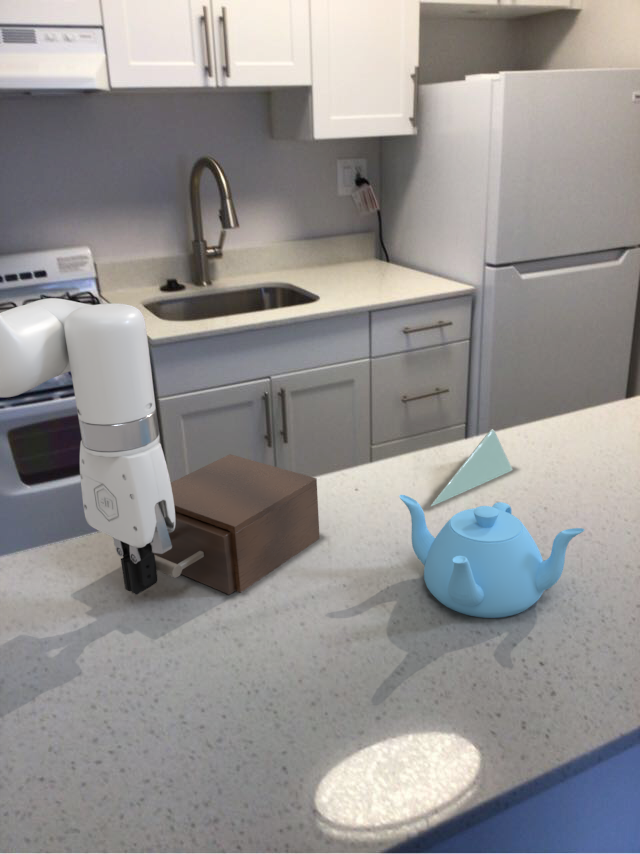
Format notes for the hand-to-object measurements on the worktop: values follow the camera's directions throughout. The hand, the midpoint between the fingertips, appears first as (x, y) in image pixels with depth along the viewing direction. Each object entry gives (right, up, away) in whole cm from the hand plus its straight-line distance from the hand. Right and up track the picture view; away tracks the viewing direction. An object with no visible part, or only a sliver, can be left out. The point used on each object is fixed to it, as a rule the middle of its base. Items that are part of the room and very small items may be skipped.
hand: (141, 586), depth 82 cm
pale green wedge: (+41, +8, +25) cm, 49 cm away
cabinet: (+9, +2, +12) cm, 15 cm away
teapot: (+37, -2, +1) cm, 37 cm away
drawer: (+7, +1, +9) cm, 11 cm away
